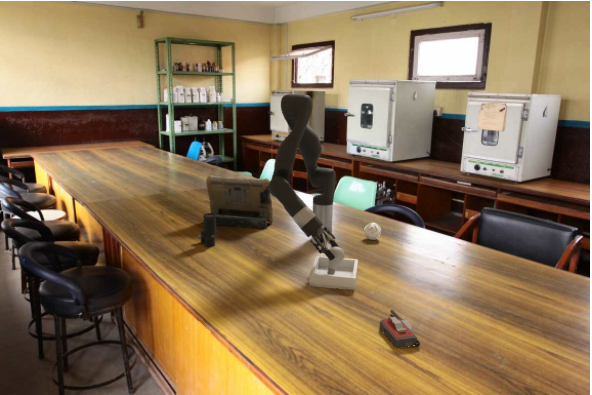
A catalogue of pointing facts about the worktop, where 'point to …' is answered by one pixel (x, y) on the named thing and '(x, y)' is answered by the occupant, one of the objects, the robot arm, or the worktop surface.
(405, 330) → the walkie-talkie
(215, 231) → the scope
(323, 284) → the tray
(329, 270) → the lightbulb
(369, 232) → the white textured ball
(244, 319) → the worktop surface
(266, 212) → the tablet
